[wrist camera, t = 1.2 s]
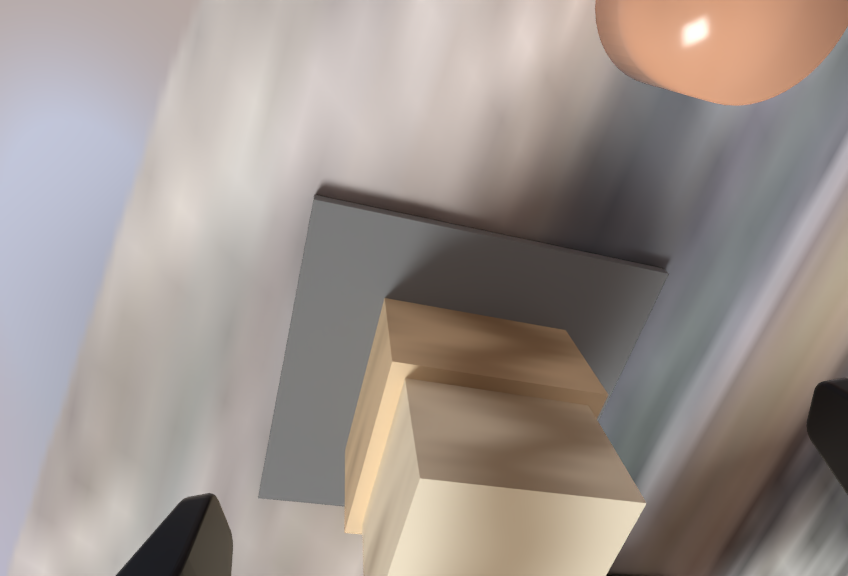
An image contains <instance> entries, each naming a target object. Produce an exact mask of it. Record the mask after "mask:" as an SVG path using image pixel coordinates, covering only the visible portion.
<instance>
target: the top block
mask: <svg viewBox="0 0 848 576" xmlns="http://www.w3.org/2000/svg"><path fill="white" fill-rule="evenodd" d="M645 505H646V502H645V500H644V498H643V497H642V495H641V493H640V491H639V490H638V488H637V486H636V485H635V483H634V481H633V480H632V478H631V476H630V475H629V473H628V471H627V470H626V468H625V466H624V465H623V463H622V461H621V459H620V458H619V456H618V454H617V453H616V451H615V449H614V448H613V446H612V444H611V443H610V441H609V439H608V438H607V436H606V434H605V433H604V431H603V429H602V427H601V426H600V424H599V422H598V421H597V419H596V417H595V416H594V414H593V412H592V411H591V409H590V407H589V406H588V405H583V404H576V403H569V402H563V401H556V400H549V399H543V398H536V397H529V396H522V395H516V394H509V393H502V392H495V391H489V390H482V389H475V388H468V387H462V386H455V385H448V384H441V383H435V382H428V381H421V380H414V379H408V378H405V379H404V383H403V386H402V390H401V393H400V396H399V400H398V403H397V407H396V410H395V413H394V417H393V420H392V424H391V427H390V430H389V434H388V437H387V441H386V444H385V447H384V451H383V454H382V458H381V461H380V465H379V468H378V471H377V475H376V478H375V482H374V485H373V488H372V492H371V495H370V499H369V502H368V505H367V509H366V512H365V516H364V519H363V522H362V536H363V573H364V576H606V575H607V573H608V571H609V569H610V567H611V566H612V564H613V562H614V560H615V559H616V557H617V555H618V553H619V551H620V550H621V548H622V546H623V544H624V543H625V541H626V539H627V537H628V535H629V534H630V532H631V530H632V528H633V527H634V525H635V523H636V521H637V519H638V518H639V516H640V514H641V512H642V511H643V509H644V507H645Z"/></svg>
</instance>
